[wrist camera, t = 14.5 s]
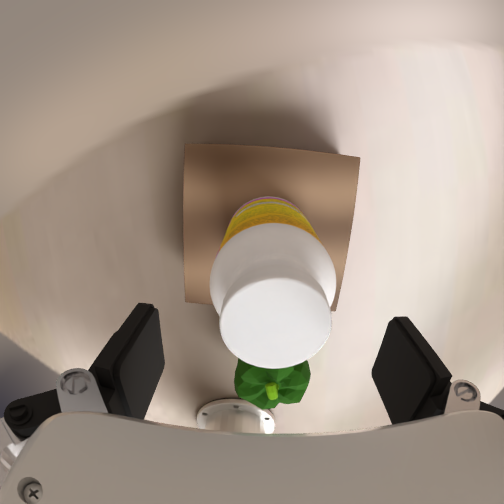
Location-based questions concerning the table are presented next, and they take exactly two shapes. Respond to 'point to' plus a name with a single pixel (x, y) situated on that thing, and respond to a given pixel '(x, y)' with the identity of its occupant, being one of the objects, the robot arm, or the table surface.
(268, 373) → the bell pepper
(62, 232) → the table surface
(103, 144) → the table surface
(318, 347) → the supplement bottle
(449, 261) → the table surface
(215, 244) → the walnut block
